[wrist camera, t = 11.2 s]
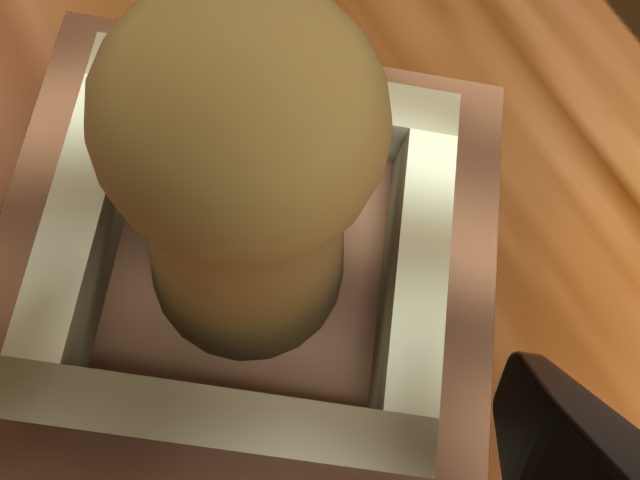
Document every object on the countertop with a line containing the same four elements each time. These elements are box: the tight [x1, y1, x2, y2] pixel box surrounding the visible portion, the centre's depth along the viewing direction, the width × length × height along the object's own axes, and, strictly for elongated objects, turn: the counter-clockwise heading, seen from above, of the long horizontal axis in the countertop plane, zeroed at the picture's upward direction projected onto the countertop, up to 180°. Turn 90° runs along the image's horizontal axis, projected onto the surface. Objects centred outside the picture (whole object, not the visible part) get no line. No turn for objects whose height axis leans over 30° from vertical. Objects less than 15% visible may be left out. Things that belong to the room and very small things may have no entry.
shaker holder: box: [0, 12, 504, 480], centre depth 19 cm, size 16×16×3 cm
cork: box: [84, 0, 393, 361], centre depth 14 cm, size 6×6×11 cm
